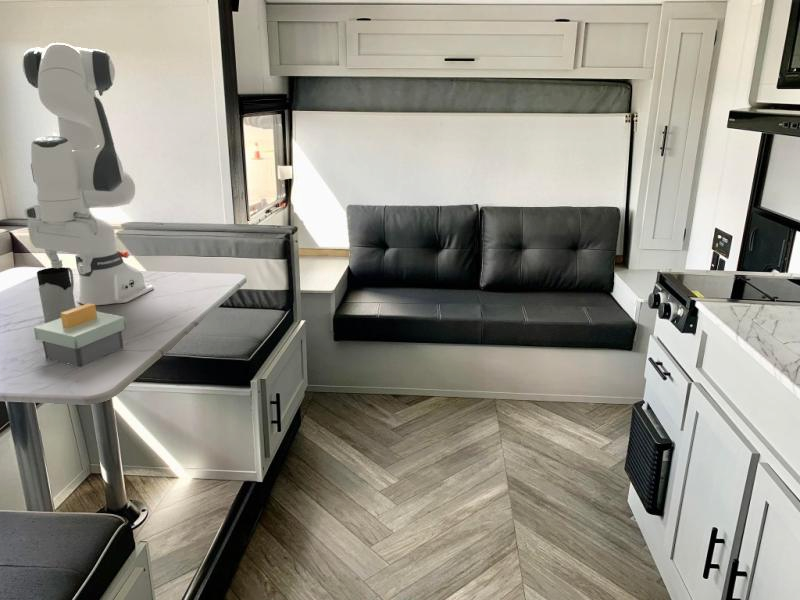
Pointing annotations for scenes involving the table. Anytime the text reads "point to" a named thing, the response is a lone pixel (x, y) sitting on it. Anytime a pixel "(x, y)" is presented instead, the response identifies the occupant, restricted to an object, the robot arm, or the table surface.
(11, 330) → the table surface
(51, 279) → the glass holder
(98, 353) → the parts tub
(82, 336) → the lid
